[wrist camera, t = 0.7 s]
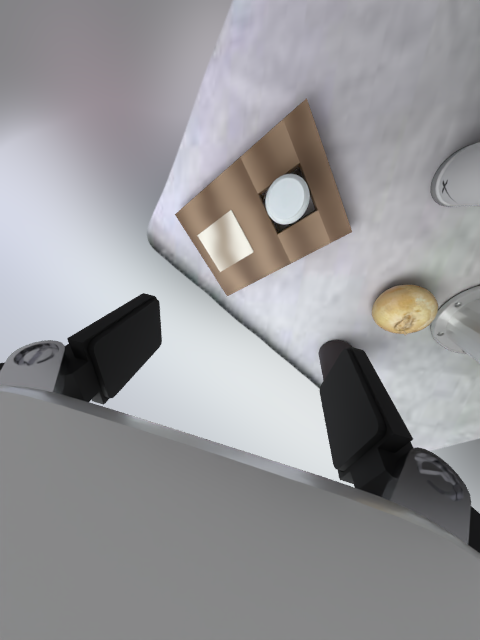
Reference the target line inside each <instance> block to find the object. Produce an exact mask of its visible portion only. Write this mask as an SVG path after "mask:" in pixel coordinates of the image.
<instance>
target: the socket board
mask: <svg viewBox="0 0 480 640" xmlns="http://www.w3.org/2000/svg"><path fill="white" fill-rule="evenodd" d="M297 168H300V171H301V173H302V176H303V179H304V181H305V182H306V183H307V185H308V188H309V193H310V196H311V199H312V202H313V204H314V207H315V209H316V210H315V211H314V212H312V213H310V214H309V215H307V216H305V217H304V218H302V219H300V220H299V221H297V222H296V223H294V224H292V225H291V226H289V227H287V228H286V229H284V230H282V231H281V232H279V233H278V231H277V229H276V226H275V224H274V222H273V220H272V219H271V218H270V216H269V215H268V213H267V210H266V205H265V203H264V201H263V199H262V197H261V195H262V194H263V193H265V192H266V191H267V190H268V189H269V187H270V186H271V184H272V183H273V182H274V181H275V180H276V179H277V178H279V177H280V176H283V175H285V174H290V173H292V172H293V171H294V170H296V169H297ZM175 215H176V217H177V218H178V220H179V221H180V223H181V225H182V226H183V228H184V229H185V231H186V232H187V234H188V236H189V237H190V239H191V240H192V242H193V243H194V245H195V247H196V248H197V250H198V251H199V253H200V254H201V256H202V258H203V259H204V261H205V262H206V264H207V265H208V267H209V268H210V270H211V272H212V273H213V275H214V276H215V278H216V279H217V281H218V283H219V284H220V286H221V287H222V289H223V290H224V292H225V294H226V295H227V296H229V295H231V294H233V293H235V292H236V291H238V290H240V289H242V288H244V287H246V286H248V285H250V284H252V283H254V282H256V281H258V280H260V279H262V278H264V277H266V276H267V275H269V274H271V273H273V272H275V271H277V270H279V269H281V268H283V267H285V266H287V265H289V264H291V263H293V262H295V261H297V260H298V259H300V258H302V257H304V256H306V255H308V254H310V253H312V252H314V251H316V250H318V249H320V248H322V247H324V246H326V245H328V244H329V243H331V242H333V241H335V240H337V239H339V238H341V237H343V236H345V235H347V234H349V233H351V232H352V230H351V227H350V224H349V221H348V218H347V215H346V212H345V209H344V206H343V203H342V201H341V198H340V195H339V192H338V189H337V186H336V183H335V180H334V177H333V174H332V171H331V168H330V165H329V162H328V159H327V156H326V154H325V151H324V148H323V145H322V142H321V139H320V136H319V133H318V130H317V127H316V124H315V121H314V118H313V115H312V112H311V109H310V107H309V104H308V101H307V98H306V99H305V100H304V101H303V102H302V103H301V104H300V105H299V106H297V107H296V108H295V109H294V110H293V111H292V112H291V113H289V114H288V115H287V116H286V117H285V118H284V119H283V120H282V121H280V122H279V123H278V124H277V125H276V126H275V127H274V128H272V129H271V130H270V131H269V132H268V133H267V134H266V135H265V136H263V137H262V138H261V139H260V140H259V141H258V142H257V143H256V144H254V145H253V146H252V147H251V148H250V149H249V150H248V151H246V152H245V153H244V154H243V155H242V156H241V157H240V158H239V159H237V160H236V161H235V162H234V163H233V164H232V165H231V166H229V167H228V168H227V169H226V170H225V171H224V172H223V173H222V174H220V175H219V176H218V177H217V178H216V179H215V180H214V181H212V182H211V183H210V184H209V185H208V186H207V187H206V188H205V189H203V190H202V191H201V192H200V193H199V194H198V195H197V196H195V197H194V198H193V199H192V200H191V201H190V202H189V203H188V204H186V205H185V206H184V207H183V208H182V209H181V210H180V211H179V212H177V213H176V214H175Z"/></svg>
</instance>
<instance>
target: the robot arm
mask: <svg viewBox="0 0 480 640" xmlns="http://www.w3.org/2000/svg"><path fill="white" fill-rule="evenodd" d="M431 332H432V335H433V337H434V339H435V340H436V341H437V342H438V343H439V344H440V345H441V346H443V347H444V348H446V349H448V350H450V351H453V352H457V353H463V354H468V355H470V356H471V357H472V358H473V359H475V360H476V361H477V362H478V363H480V286H477V287H474V288H471V289H469V290H466V291H464V292H462V293H460V294H458V295H457V296H455V297H453V298H452V299H450V300H449V301H448V302H446V303H445V304H444V305H443V306H442V307H441V308H440V309H439V310H438V312H437V314H436V317H435V319H434V320H433V321H432V324H431ZM68 342H69V344H68V345H66V346H64V345H63V344H62V343H61V342H58V341H51V340H48V341H40V342H35V343H32V344H29V345H26V346H24V347H21V348H19V349H18V350H16V351H15V352H13V353H12V354H11V355H10V356H9V357H8V359H7V360H6V362H5V363H0V640H480V514H479V513H478V512H477V511H476V510H475V509H474V508H473V507H471V499H470V494H469V491H468V489H467V487H466V485H465V484H464V482H463V481H462V480H461V478H460V477H459V476H458V474H457V473H456V472H455V471H454V470H453V469H452V468H451V467H450V466H449V465H448V464H447V463H446V462H444V461H443V460H442V459H441V458H440V457H438V456H437V455H435V454H434V453H432V452H430V451H428V450H425V449H422V448H418V447H417V448H413V446H412V444H411V442H410V441H412V440H413V438H412V436H411V434H410V432H409V431H408V429H407V427H406V425H405V423H404V422H403V420H402V418H401V416H400V414H399V413H398V411H397V409H396V407H395V405H394V404H393V402H392V400H391V398H390V396H389V395H388V393H387V391H386V389H385V387H384V386H383V384H382V382H381V380H380V378H379V377H378V375H377V373H376V371H375V369H374V368H373V366H372V364H371V362H370V360H369V359H368V357H367V355H366V353H365V352H364V351H363V350H360V349H357V348H353V347H349V348H347V349H343V350H342V352H341V354H340V355H339V357H338V358H337V360H336V362H335V363H334V365H333V367H332V368H331V370H330V372H329V373H328V375H327V376H326V378H325V380H324V381H323V383H322V385H321V387H320V396H321V401H322V407H323V412H324V417H325V422H326V427H327V433H328V439H329V444H330V449H331V454H332V460H333V464H334V467H335V468H336V469H338V473H339V478H340V480H343V481H346V482H349V483H352V484H354V486H355V488H353V487H351V486H348V485H345V484H342V483H339V482H336V481H333V480H330V479H327V478H325V477H322V476H319V475H315V474H312V473H309V472H306V471H303V470H300V469H297V468H294V467H290V466H288V465H285V464H281V463H279V462H275V461H272V460H269V459H266V458H263V457H260V456H257V455H254V454H251V453H247V452H244V451H241V450H238V449H235V448H232V447H229V446H226V445H223V444H220V443H216V442H213V441H210V440H207V439H204V438H200V437H198V436H194V435H191V434H188V433H185V432H182V431H179V430H175V429H172V428H169V427H166V426H163V425H160V424H156V423H153V422H150V421H147V420H144V419H141V418H137V417H134V416H131V415H128V414H125V413H122V412H118V411H115V410H112V409H109V408H105V407H102V406H99V405H95V404H92V403H89V401H90V400H91V399H92V401H94V402H97V403H101V404H105V403H106V402H107V400H108V399H109V398H113V397H114V396H115V395H116V394H117V393H118V392H119V391H120V390H121V389H122V388H123V387H124V386H125V384H126V383H127V382H128V381H129V380H130V379H131V378H132V377H133V376H134V375H135V373H136V372H137V371H138V370H139V369H140V368H141V367H142V366H143V365H144V364H145V362H146V361H147V360H148V359H149V358H150V357H151V356H152V355H153V354H154V352H155V351H156V350H157V349H158V348H159V347H160V345H161V342H162V338H161V322H160V306H159V301H158V300H157V299H156V297H155V296H152V295H148V294H144V293H143V294H141V295H140V296H138V297H136V298H134V299H133V300H131V301H129V302H128V303H126V304H124V305H123V306H121V307H119V308H118V309H116V310H114V311H113V312H111V313H109V314H107V315H106V316H104V317H102V318H101V319H99V320H97V321H96V322H94V323H92V324H91V325H89V326H87V327H86V328H84V329H82V330H81V331H79V332H77V333H76V334H74V335H72V336H71V337H69V338H68Z"/></svg>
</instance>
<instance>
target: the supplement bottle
mask: <svg viewBox="0 0 480 640" xmlns="http://www.w3.org/2000/svg"><path fill="white" fill-rule="evenodd" d="M309 199H310V193H309V188H308V185H307V183H306V182H305V181H304V179H303V178H301V177H300V176H298V175H295V174H285V175H283V176H280V177H279V178H277V179H276V180H275V181H274V182H273V183H272V184H271V186H270V187H269V189H268V192H267V195H266V201H265V203H266V210H267V213H268V215H269V216H270V218H271V219H272V220H273V221H275V222H277V223H279V224H291V223H293V222H295V221H297V220H298V219H300V218H301V217H302V215H303V214H304V213H305V211H306V209H307V207H308V204H309Z"/></svg>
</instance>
